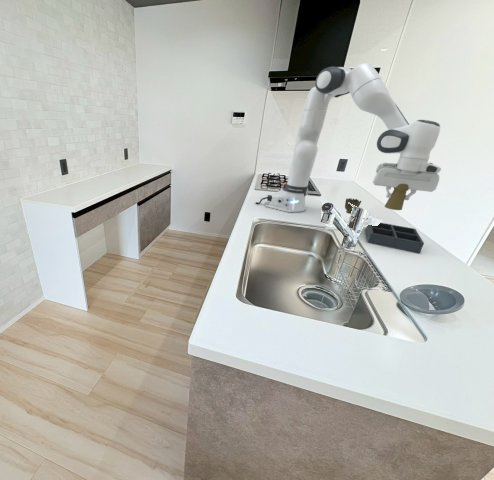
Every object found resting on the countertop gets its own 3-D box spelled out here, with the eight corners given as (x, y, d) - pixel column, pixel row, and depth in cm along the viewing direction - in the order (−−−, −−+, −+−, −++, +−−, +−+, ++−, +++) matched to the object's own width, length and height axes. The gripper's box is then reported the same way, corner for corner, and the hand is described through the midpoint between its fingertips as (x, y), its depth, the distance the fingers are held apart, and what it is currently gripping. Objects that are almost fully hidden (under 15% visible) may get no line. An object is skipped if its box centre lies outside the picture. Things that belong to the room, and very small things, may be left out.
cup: (359, 215, 147) (364, 202, 143) (346, 215, 147) (351, 201, 143) (351, 211, 154) (356, 198, 150) (339, 210, 154) (343, 197, 150)
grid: (367, 242, 115) (371, 233, 113) (365, 229, 129) (368, 220, 127) (419, 253, 107) (424, 243, 105) (411, 237, 121) (415, 228, 119)
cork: (405, 210, 108) (416, 184, 103) (388, 209, 109) (399, 183, 104) (397, 206, 113) (407, 181, 108) (381, 205, 114) (391, 180, 109)
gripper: (379, 163, 105) (368, 196, 111) (446, 169, 96) (429, 204, 102) (378, 161, 110) (367, 192, 116) (442, 166, 101) (426, 200, 107)
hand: (397, 198), depth 109 cm, fingers closed on cork, 4 cm apart
